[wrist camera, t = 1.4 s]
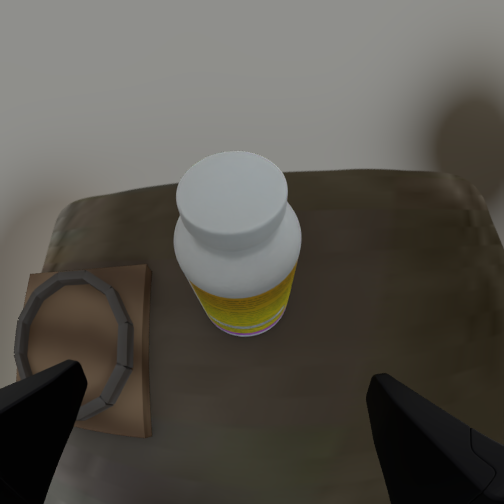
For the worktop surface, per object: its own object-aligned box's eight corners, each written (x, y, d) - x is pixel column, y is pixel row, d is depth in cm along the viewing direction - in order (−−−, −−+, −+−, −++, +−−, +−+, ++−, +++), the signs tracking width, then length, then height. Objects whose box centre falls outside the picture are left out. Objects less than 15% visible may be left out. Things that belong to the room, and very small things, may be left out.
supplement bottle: (301, 317, 22) (344, 220, 10) (222, 351, 20) (175, 287, 9) (265, 249, 25) (268, 124, 14) (193, 278, 24) (141, 165, 12)
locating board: (152, 436, 17) (138, 439, 15) (26, 410, 17) (8, 408, 14) (151, 271, 24) (141, 257, 22) (38, 280, 24) (23, 268, 21)
